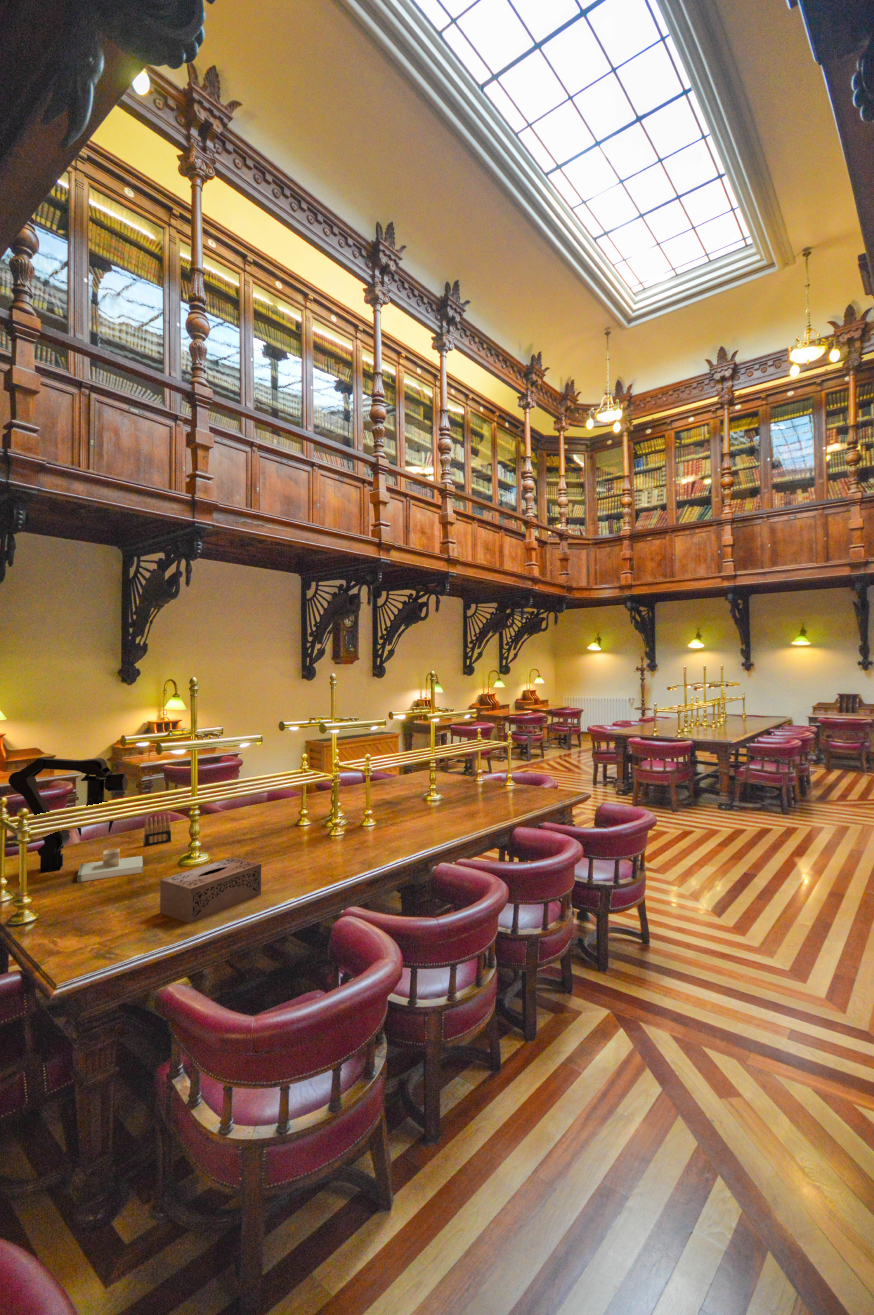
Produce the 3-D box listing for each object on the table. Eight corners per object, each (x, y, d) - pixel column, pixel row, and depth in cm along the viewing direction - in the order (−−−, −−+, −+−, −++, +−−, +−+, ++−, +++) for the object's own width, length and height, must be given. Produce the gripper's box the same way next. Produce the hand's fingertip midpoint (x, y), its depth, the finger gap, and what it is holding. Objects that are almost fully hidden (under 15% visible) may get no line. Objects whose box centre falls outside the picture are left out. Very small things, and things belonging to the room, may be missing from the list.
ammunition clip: (144, 847, 238) (145, 818, 239) (143, 846, 240) (143, 817, 240) (171, 842, 246) (171, 814, 246) (169, 841, 247) (170, 813, 248)
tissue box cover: (231, 887, 191) (231, 857, 192) (261, 895, 184) (261, 864, 184) (159, 914, 169) (160, 880, 170) (190, 924, 162) (190, 888, 162)
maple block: (103, 868, 204) (103, 854, 204) (103, 864, 208) (104, 850, 208) (118, 866, 206) (119, 852, 206) (119, 862, 210) (119, 848, 211)
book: (77, 882, 196) (77, 875, 196) (80, 871, 208) (80, 863, 208) (142, 873, 205) (142, 866, 206) (142, 862, 218) (142, 855, 218)
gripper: (64, 798, 203) (63, 842, 202) (123, 793, 211) (122, 835, 211) (67, 793, 212) (66, 835, 212) (124, 788, 221) (123, 829, 221)
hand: (94, 834), depth 213 cm, fingers open, 9 cm apart
